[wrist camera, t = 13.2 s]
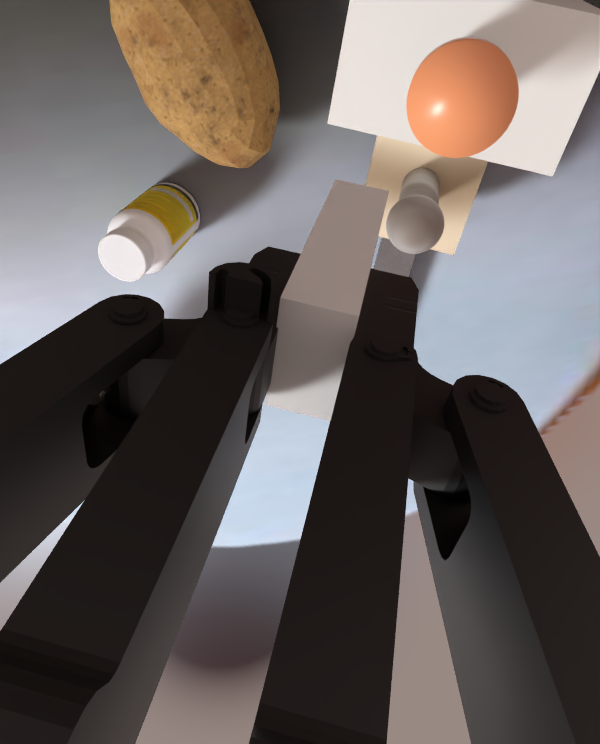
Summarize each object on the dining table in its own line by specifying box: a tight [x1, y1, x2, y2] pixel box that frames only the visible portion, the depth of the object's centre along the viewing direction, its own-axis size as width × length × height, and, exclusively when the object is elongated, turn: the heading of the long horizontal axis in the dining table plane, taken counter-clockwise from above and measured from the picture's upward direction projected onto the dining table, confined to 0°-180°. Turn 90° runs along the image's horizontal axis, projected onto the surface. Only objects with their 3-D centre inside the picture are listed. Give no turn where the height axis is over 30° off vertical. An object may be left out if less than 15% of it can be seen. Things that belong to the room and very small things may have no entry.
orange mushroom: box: [406, 37, 519, 158], centre depth 25 cm, size 4×4×5 cm
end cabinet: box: [327, 0, 600, 176], centre depth 33 cm, size 7×13×14 cm, turn 81°
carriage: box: [365, 135, 488, 255], centre depth 36 cm, size 8×7×15 cm
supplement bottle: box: [98, 183, 200, 281], centre depth 47 cm, size 5×5×10 cm
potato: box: [109, 0, 280, 168], centre depth 39 cm, size 10×14×8 cm
